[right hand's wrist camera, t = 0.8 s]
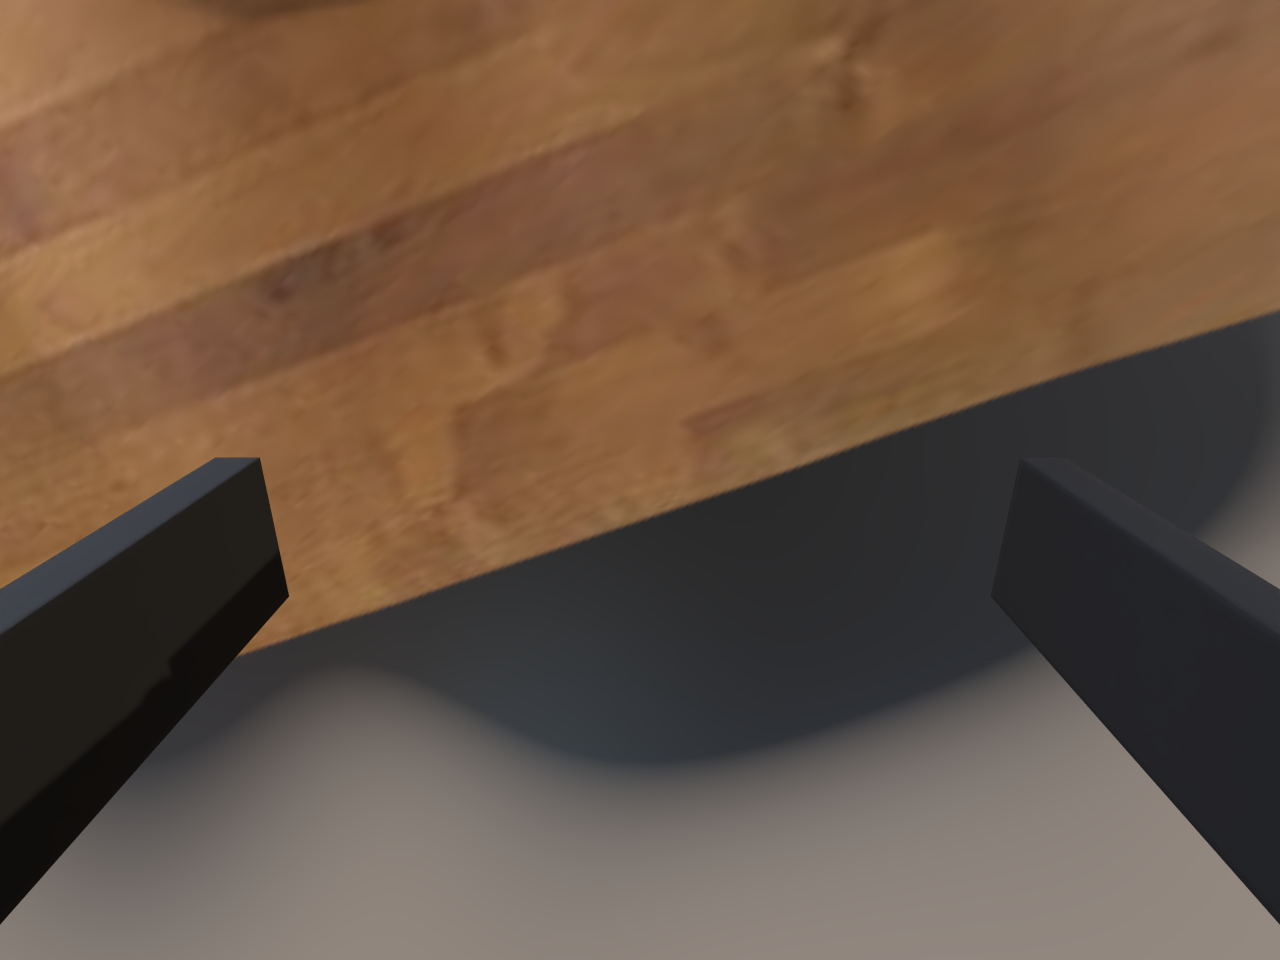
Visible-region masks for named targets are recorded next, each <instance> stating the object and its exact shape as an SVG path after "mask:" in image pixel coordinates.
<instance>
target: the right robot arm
mask: <svg viewBox="0 0 1280 960" xmlns="http://www.w3.org/2000/svg"><path fill="white" fill-rule="evenodd" d="M288 597H289V594H288V589H287V584H286V579H285V575H284V570H283V565H282V561H281V556H280V551H279V546H278V542H277V537H276V532H275V528H274V523H273V518H272V513H271V509H270V504H269V499H268V495H267V490H266V485H265V480H264V476H263V471H262V466H261V462H260V458H214V459H212V460H211V461H209V462H207V463H206V464H204V465H203V466H201V467H199V468H198V469H196V470H194V471H193V472H191V473H189V474H188V475H186V476H185V477H183V478H181V479H180V480H178V481H176V482H175V483H173V484H171V485H170V486H168V487H167V488H165V489H163V490H162V491H160V492H158V493H157V494H155V495H154V496H152V497H150V498H149V499H147V500H145V501H144V502H142V503H140V504H139V505H137V506H136V507H134V508H132V509H131V510H129V511H127V512H126V513H124V514H122V515H121V516H119V517H118V518H116V519H114V520H113V521H111V522H109V523H108V524H106V525H104V526H103V527H101V528H100V529H98V530H96V531H95V532H93V533H91V534H90V535H88V536H87V537H85V538H83V539H82V540H80V541H78V542H77V543H75V544H73V545H72V546H70V547H69V548H67V549H65V550H64V551H62V552H60V553H59V554H57V555H55V556H54V557H52V558H51V559H49V560H47V561H46V562H44V563H42V564H41V565H39V566H38V567H36V568H34V569H33V570H31V571H29V572H28V573H26V574H24V575H23V576H21V577H20V578H18V579H16V580H15V581H13V582H11V583H10V584H8V585H6V586H5V587H3V588H2V589H0V924H1V923H2V922H3V921H4V920H5V918H6V917H7V916H8V915H9V914H10V913H11V912H12V910H13V909H14V908H15V907H16V906H17V905H18V904H19V902H20V901H21V900H22V899H23V898H24V897H25V896H26V895H27V893H28V892H29V891H30V890H31V889H32V888H33V887H34V886H35V884H36V883H37V882H38V881H39V880H40V879H41V877H42V876H43V875H44V874H45V873H46V872H47V871H48V870H49V868H50V867H51V866H52V865H53V864H54V863H55V862H56V861H57V859H58V858H59V857H60V856H61V855H62V854H63V853H64V851H65V850H66V849H67V848H68V847H69V846H70V845H71V843H72V842H73V841H74V840H75V839H76V838H77V837H78V836H79V834H80V833H81V832H82V831H83V830H84V829H85V827H86V826H87V825H88V824H89V823H90V822H91V821H92V820H93V818H94V817H95V816H96V815H97V814H98V813H99V812H100V811H101V809H102V808H103V807H104V806H105V805H106V804H107V803H108V801H109V800H110V799H111V798H112V797H113V796H114V795H115V793H116V792H117V791H118V790H119V789H120V788H121V787H122V786H123V784H124V783H125V782H126V781H127V780H128V779H129V778H130V776H131V775H132V774H133V773H134V772H135V771H136V770H137V768H138V767H139V766H140V765H141V764H142V763H143V762H144V761H145V759H146V758H147V757H148V756H149V755H150V754H151V753H152V751H153V750H154V749H155V748H156V747H157V746H158V745H159V744H160V742H161V741H162V740H163V739H164V738H165V737H166V736H167V734H168V733H169V732H170V731H171V730H172V729H173V728H174V726H175V725H176V724H177V723H178V722H179V721H180V720H181V718H182V717H183V716H184V715H185V714H186V713H187V712H188V711H189V709H190V708H191V707H192V706H193V705H194V704H195V703H196V701H197V700H198V699H199V698H200V697H201V696H202V695H203V694H204V692H205V691H206V690H207V689H208V688H209V687H210V686H211V684H212V683H213V682H214V681H215V680H216V679H217V678H218V676H219V675H220V674H221V673H222V672H223V671H224V670H225V669H226V667H227V666H228V665H229V664H230V663H231V662H232V661H233V659H234V658H235V657H236V656H237V655H238V654H239V653H240V652H241V650H242V649H243V648H244V647H245V646H246V645H247V644H248V642H249V641H250V640H251V639H252V638H253V637H254V636H255V634H256V633H257V632H258V631H259V630H260V629H261V628H262V627H263V625H264V624H265V623H266V622H267V621H268V620H269V619H270V617H271V616H272V615H273V614H274V613H275V612H276V611H277V609H278V608H279V607H280V606H281V605H282V604H283V603H284V602H285V600H286V599H287V598H288ZM991 597H992V598H993V599H994V600H995V602H996V603H997V604H998V605H999V606H1000V607H1001V608H1002V609H1003V611H1004V612H1005V613H1006V614H1007V615H1008V616H1009V617H1010V619H1011V620H1012V621H1013V622H1014V623H1015V624H1016V625H1017V626H1018V628H1019V629H1020V630H1021V631H1022V632H1023V633H1024V634H1025V636H1026V637H1027V638H1028V639H1029V640H1030V641H1031V642H1032V644H1033V645H1034V646H1035V647H1036V648H1037V649H1038V650H1039V652H1040V653H1041V654H1042V655H1043V656H1044V657H1045V658H1046V659H1047V661H1048V662H1049V663H1050V664H1051V665H1052V666H1053V667H1054V669H1055V670H1056V671H1057V672H1058V673H1059V674H1060V675H1061V676H1062V678H1063V679H1064V680H1065V681H1066V682H1067V683H1068V684H1069V686H1070V687H1071V688H1072V689H1073V690H1074V691H1075V692H1076V694H1077V695H1078V696H1079V697H1080V698H1081V699H1082V700H1083V701H1084V703H1085V704H1086V705H1087V706H1088V707H1089V708H1090V709H1091V711H1092V712H1093V713H1094V714H1095V715H1096V716H1097V717H1098V719H1099V720H1100V721H1101V722H1102V723H1103V724H1104V725H1105V726H1106V728H1107V729H1108V730H1109V731H1110V732H1111V733H1112V734H1113V736H1114V737H1115V738H1116V739H1117V740H1118V741H1119V742H1120V744H1121V745H1122V746H1123V747H1124V748H1125V749H1126V750H1127V751H1128V753H1129V754H1130V755H1131V756H1132V757H1133V758H1134V759H1135V761H1136V762H1137V763H1138V764H1139V765H1140V766H1141V767H1142V768H1143V770H1144V771H1145V772H1146V773H1147V774H1148V775H1149V776H1150V778H1151V779H1152V780H1153V781H1154V782H1155V783H1156V784H1157V786H1158V787H1159V788H1160V789H1161V790H1162V791H1163V792H1164V794H1165V795H1166V796H1167V797H1168V798H1169V799H1170V800H1171V801H1172V803H1173V804H1174V805H1175V806H1176V807H1177V808H1178V809H1179V810H1180V812H1181V813H1182V814H1183V815H1184V816H1185V817H1186V818H1187V820H1188V821H1189V822H1190V823H1191V824H1192V825H1193V826H1194V828H1195V829H1196V830H1197V831H1198V832H1199V833H1200V834H1201V836H1202V837H1203V838H1204V839H1205V840H1206V841H1207V842H1208V843H1209V845H1210V846H1211V847H1212V848H1213V849H1214V850H1215V851H1216V852H1217V854H1218V855H1219V856H1220V857H1221V858H1222V859H1223V861H1224V862H1225V863H1226V864H1227V865H1228V866H1229V867H1230V868H1231V870H1232V871H1233V872H1234V873H1235V874H1236V875H1237V876H1238V878H1239V879H1240V880H1241V881H1242V882H1243V883H1244V884H1245V886H1246V887H1247V888H1248V889H1249V890H1250V891H1251V892H1252V893H1253V895H1254V896H1255V897H1256V898H1257V899H1258V900H1259V901H1260V903H1261V904H1262V905H1263V906H1264V907H1265V908H1266V909H1267V910H1268V912H1269V913H1270V914H1271V915H1272V916H1273V917H1274V918H1275V920H1276V921H1277V922H1278V923H1279V924H1280V589H1278V588H1277V587H1275V586H1273V585H1272V584H1270V583H1269V582H1267V581H1265V580H1264V579H1262V578H1260V577H1259V576H1257V575H1256V574H1254V573H1252V572H1251V571H1249V570H1247V569H1246V568H1244V567H1242V566H1241V565H1239V564H1238V563H1236V562H1234V561H1233V560H1231V559H1229V558H1228V557H1226V556H1224V555H1223V554H1221V553H1220V552H1218V551H1216V550H1215V549H1213V548H1211V547H1210V546H1208V545H1207V544H1205V543H1203V542H1202V541H1200V540H1198V539H1197V538H1195V537H1193V536H1192V535H1190V534H1189V533H1187V532H1185V531H1184V530H1182V529H1180V528H1179V527H1177V526H1175V525H1174V524H1172V523H1171V522H1169V521H1167V520H1166V519H1164V518H1162V517H1161V516H1159V515H1158V514H1156V513H1154V512H1153V511H1151V510H1149V509H1148V508H1146V507H1144V506H1143V505H1141V504H1140V503H1138V502H1136V501H1135V500H1133V499H1131V498H1130V497H1128V496H1126V495H1125V494H1123V493H1122V492H1120V491H1118V490H1117V489H1115V488H1113V487H1112V486H1110V485H1109V484H1107V483H1105V482H1104V481H1102V480H1100V479H1099V478H1097V477H1095V476H1094V475H1092V474H1090V473H1089V472H1087V471H1086V470H1084V469H1082V468H1081V467H1079V466H1077V465H1076V464H1074V463H1073V462H1071V461H1069V460H1068V459H1066V458H1020V462H1019V466H1018V471H1017V476H1016V481H1015V485H1014V490H1013V495H1012V499H1011V504H1010V509H1009V514H1008V518H1007V523H1006V528H1005V532H1004V537H1003V542H1002V547H1001V551H1000V556H999V561H998V565H997V570H996V575H995V579H994V584H993V589H992V594H991Z"/></svg>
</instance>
